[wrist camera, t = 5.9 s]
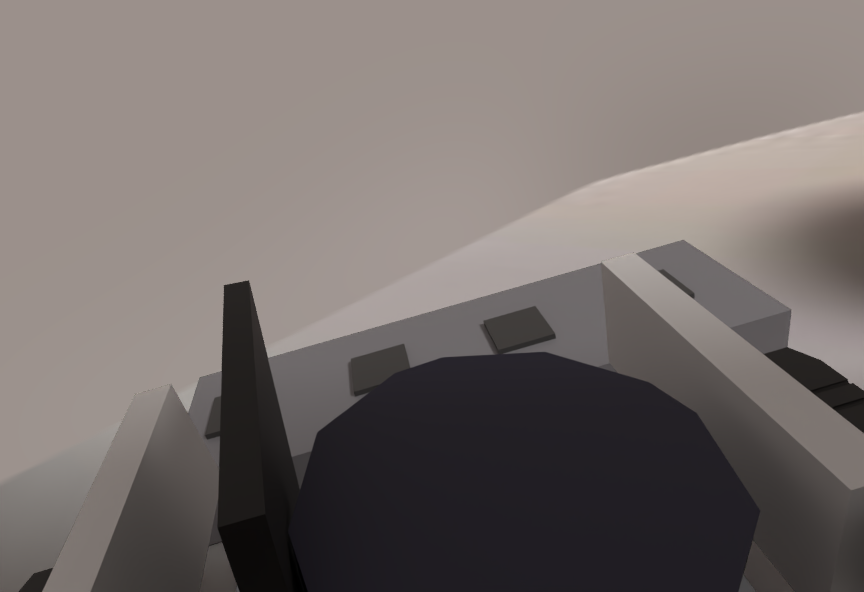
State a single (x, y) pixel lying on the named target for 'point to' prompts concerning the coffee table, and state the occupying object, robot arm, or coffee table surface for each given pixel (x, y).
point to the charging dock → (486, 343)
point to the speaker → (476, 481)
